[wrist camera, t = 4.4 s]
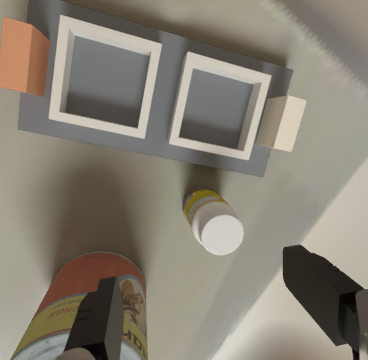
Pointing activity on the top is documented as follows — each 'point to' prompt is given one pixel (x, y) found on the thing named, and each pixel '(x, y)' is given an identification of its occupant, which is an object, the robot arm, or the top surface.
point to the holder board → (145, 89)
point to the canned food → (70, 300)
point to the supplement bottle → (212, 221)
